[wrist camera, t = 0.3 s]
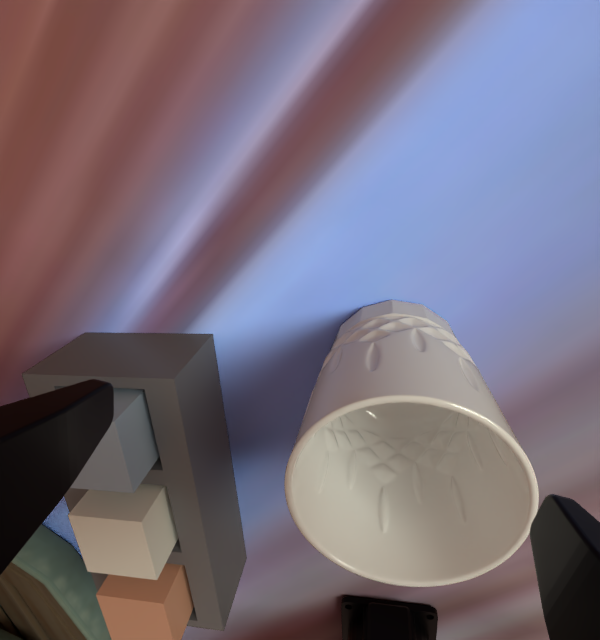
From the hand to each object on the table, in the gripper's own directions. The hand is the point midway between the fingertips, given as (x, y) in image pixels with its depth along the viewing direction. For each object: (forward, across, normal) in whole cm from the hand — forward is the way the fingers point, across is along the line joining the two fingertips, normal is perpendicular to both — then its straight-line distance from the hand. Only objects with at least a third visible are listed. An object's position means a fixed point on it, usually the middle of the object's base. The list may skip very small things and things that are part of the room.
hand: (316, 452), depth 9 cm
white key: (+10, +9, +15) cm, 20 cm away
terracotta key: (+10, +7, +20) cm, 24 cm away
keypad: (+14, +9, +15) cm, 22 cm away
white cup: (+14, -3, +4) cm, 15 cm away
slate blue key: (+10, +10, +9) cm, 17 cm away
